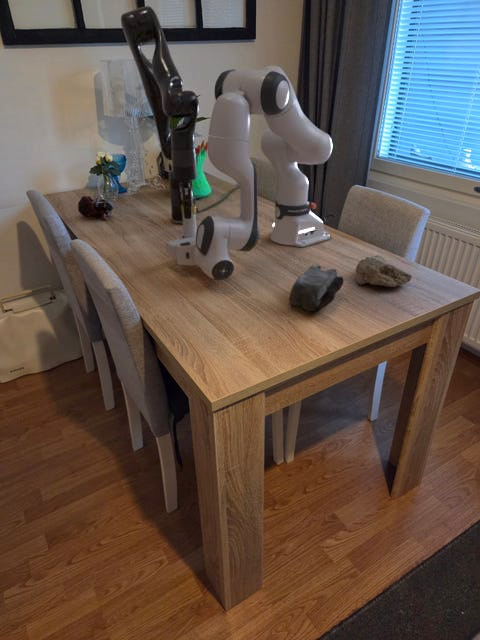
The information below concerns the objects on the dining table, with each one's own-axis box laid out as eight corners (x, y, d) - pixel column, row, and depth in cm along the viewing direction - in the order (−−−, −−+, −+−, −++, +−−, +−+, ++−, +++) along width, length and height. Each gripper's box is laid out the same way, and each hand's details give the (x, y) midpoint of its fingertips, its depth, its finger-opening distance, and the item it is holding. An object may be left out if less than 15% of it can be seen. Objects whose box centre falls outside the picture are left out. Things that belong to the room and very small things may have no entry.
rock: (323, 321, 117) (326, 295, 113) (284, 311, 122) (285, 285, 118) (343, 292, 131) (347, 268, 127) (308, 284, 136) (310, 260, 132)
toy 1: (105, 189, 179) (76, 188, 184) (97, 209, 176) (68, 207, 182) (121, 206, 189) (93, 204, 195) (114, 225, 187) (85, 223, 192)
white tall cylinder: (183, 257, 153) (180, 209, 144) (187, 253, 156) (184, 205, 147) (195, 259, 152) (193, 210, 143) (199, 254, 156) (196, 206, 147)
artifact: (373, 298, 130) (414, 291, 135) (379, 276, 125) (421, 270, 130) (340, 268, 143) (378, 263, 148) (345, 247, 139) (384, 242, 144)
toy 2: (167, 190, 223) (163, 137, 210) (207, 188, 227) (205, 135, 214) (172, 202, 206) (167, 145, 193) (214, 199, 210) (213, 143, 197)
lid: (192, 215, 144) (192, 208, 142) (179, 213, 145) (178, 207, 144) (198, 210, 147) (197, 204, 146) (185, 209, 149) (184, 202, 147)
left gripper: (171, 158, 143) (175, 208, 152) (172, 168, 131) (176, 222, 140) (195, 157, 144) (197, 207, 153) (197, 168, 132) (200, 221, 141)
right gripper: (233, 236, 143) (217, 223, 153) (172, 247, 135) (159, 232, 146) (233, 255, 146) (217, 240, 157) (174, 266, 139) (161, 250, 149)
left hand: (187, 214), depth 146 cm, fingers open, 7 cm apart
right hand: (189, 236), depth 151 cm, fingers closed on white tall cylinder, 4 cm apart
